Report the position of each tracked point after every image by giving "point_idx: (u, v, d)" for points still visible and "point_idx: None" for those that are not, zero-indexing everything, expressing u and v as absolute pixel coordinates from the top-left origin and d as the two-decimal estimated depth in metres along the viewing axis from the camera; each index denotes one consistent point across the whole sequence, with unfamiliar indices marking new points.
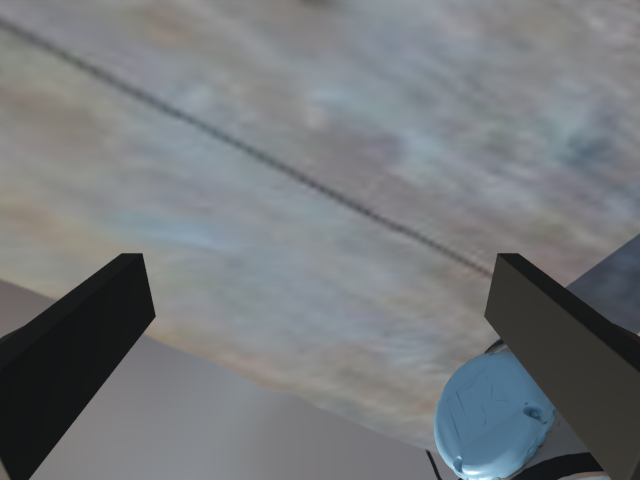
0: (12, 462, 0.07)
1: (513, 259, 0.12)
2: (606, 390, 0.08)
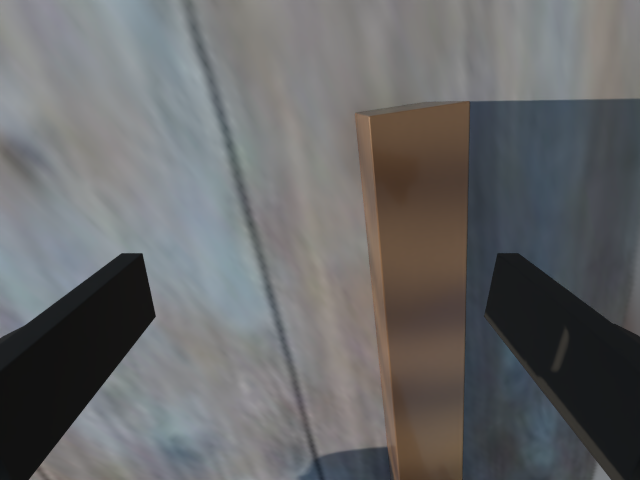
0: (12, 462, 0.07)
1: (513, 259, 0.12)
2: (606, 390, 0.08)
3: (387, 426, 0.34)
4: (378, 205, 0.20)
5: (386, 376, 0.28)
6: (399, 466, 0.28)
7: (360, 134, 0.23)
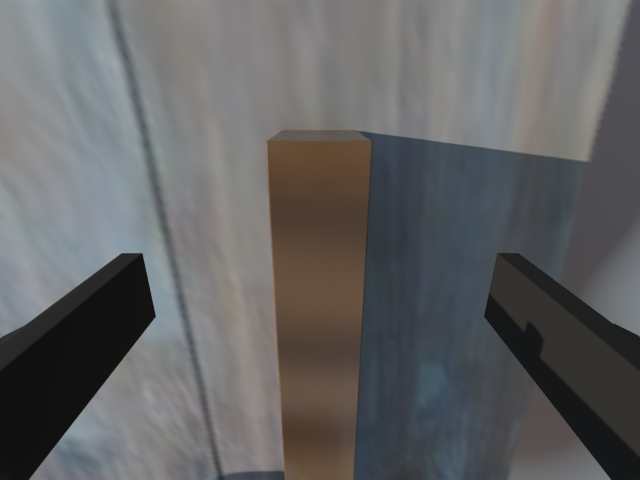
0: (12, 462, 0.07)
1: (513, 259, 0.12)
2: (606, 390, 0.08)
3: None
4: (273, 234, 0.19)
5: None
6: None
7: None
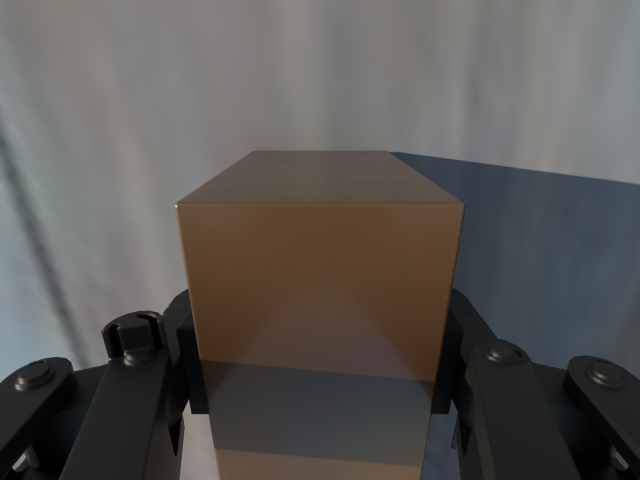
0: None
1: None
2: None
3: None
4: (212, 409, 0.08)
5: None
6: None
7: None
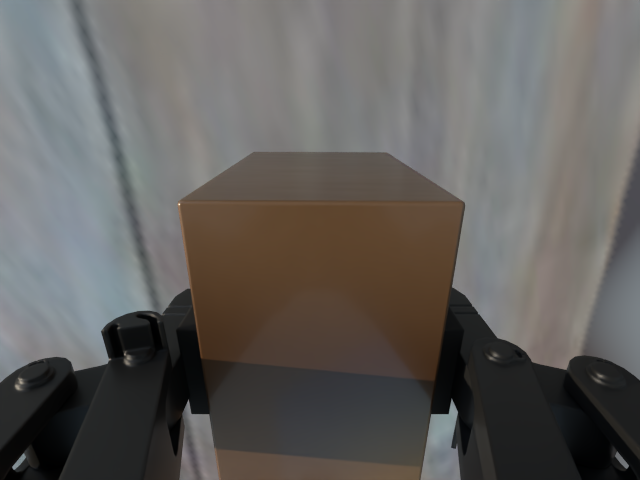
0: None
1: None
2: None
3: None
4: (212, 407, 0.08)
5: None
6: None
7: None
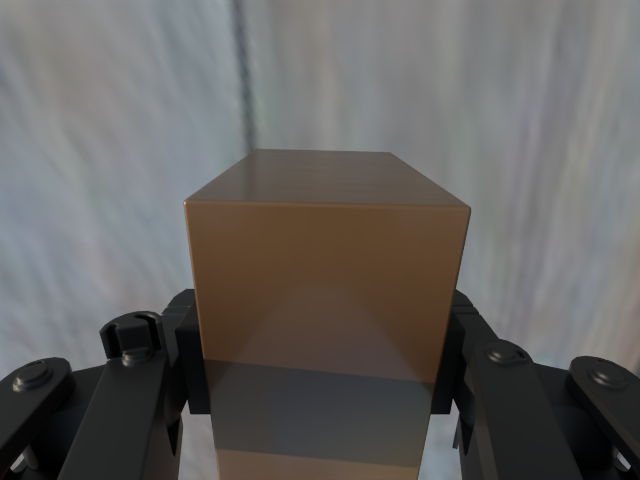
0: None
1: None
2: None
3: None
4: (213, 405, 0.08)
5: None
6: None
7: None
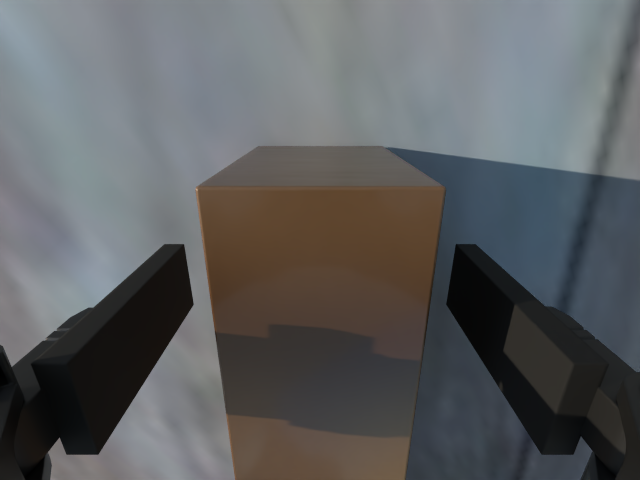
0: (94, 426, 0.08)
1: (469, 249, 0.13)
2: (531, 363, 0.08)
3: None
4: (224, 372, 0.09)
5: None
6: None
7: None
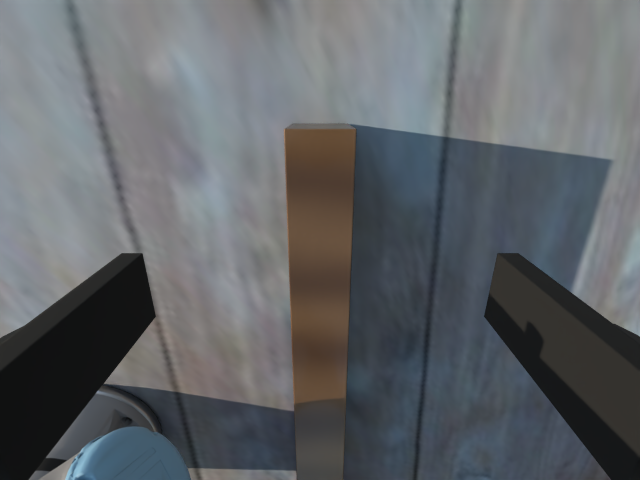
0: (12, 462, 0.07)
1: (513, 259, 0.12)
2: (606, 390, 0.08)
3: None
4: (287, 195, 0.27)
5: None
6: (295, 409, 0.35)
7: None
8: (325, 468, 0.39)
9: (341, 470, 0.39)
